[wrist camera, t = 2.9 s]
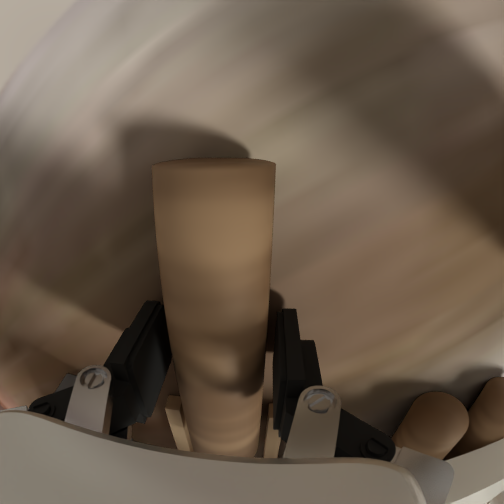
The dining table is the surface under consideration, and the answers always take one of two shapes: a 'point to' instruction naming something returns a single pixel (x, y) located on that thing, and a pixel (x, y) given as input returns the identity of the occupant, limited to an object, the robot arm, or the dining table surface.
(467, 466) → the slab
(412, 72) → the dining table surface
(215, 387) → the roller
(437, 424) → the track
